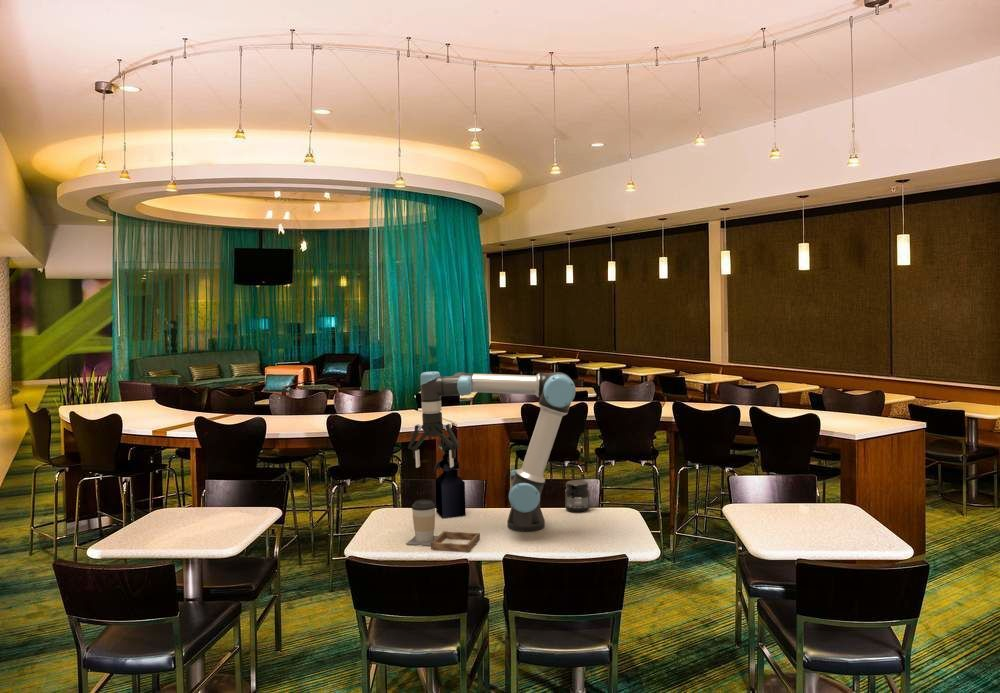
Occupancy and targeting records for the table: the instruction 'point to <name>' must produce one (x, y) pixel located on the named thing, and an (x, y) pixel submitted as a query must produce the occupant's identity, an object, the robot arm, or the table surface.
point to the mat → (414, 542)
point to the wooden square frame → (455, 547)
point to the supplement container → (577, 496)
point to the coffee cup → (424, 520)
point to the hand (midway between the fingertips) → (434, 466)
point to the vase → (449, 487)
